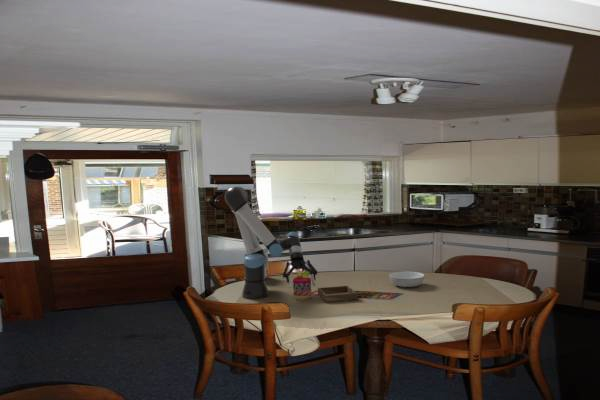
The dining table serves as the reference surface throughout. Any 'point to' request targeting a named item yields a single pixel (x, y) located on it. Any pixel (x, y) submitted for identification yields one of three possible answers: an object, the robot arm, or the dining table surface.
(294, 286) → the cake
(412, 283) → the serving bowl
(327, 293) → the box
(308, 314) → the dining table surface
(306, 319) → the dining table surface
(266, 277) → the cracker box
